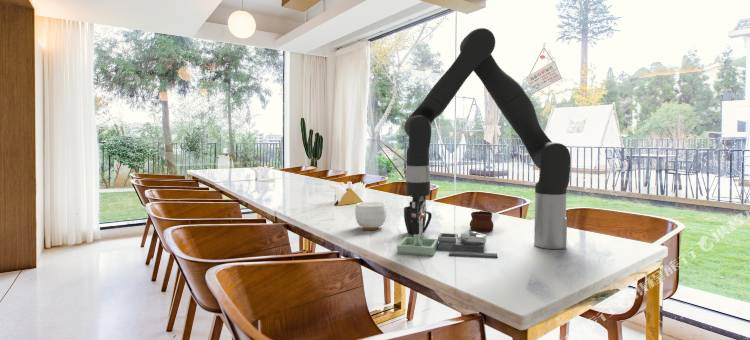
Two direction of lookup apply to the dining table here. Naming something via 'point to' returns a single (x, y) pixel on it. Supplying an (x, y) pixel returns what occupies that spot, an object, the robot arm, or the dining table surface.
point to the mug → (409, 223)
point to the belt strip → (473, 254)
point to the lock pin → (419, 238)
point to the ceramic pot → (481, 221)
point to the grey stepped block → (462, 242)
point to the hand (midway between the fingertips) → (418, 231)
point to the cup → (370, 214)
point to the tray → (417, 247)
